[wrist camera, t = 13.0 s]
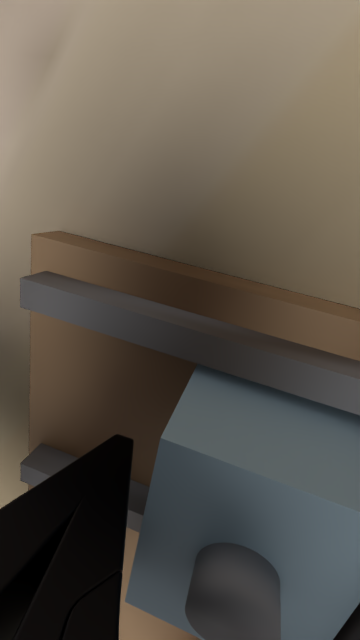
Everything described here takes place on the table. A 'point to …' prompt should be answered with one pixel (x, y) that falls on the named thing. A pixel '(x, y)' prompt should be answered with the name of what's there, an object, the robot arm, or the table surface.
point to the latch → (251, 515)
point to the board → (161, 362)
